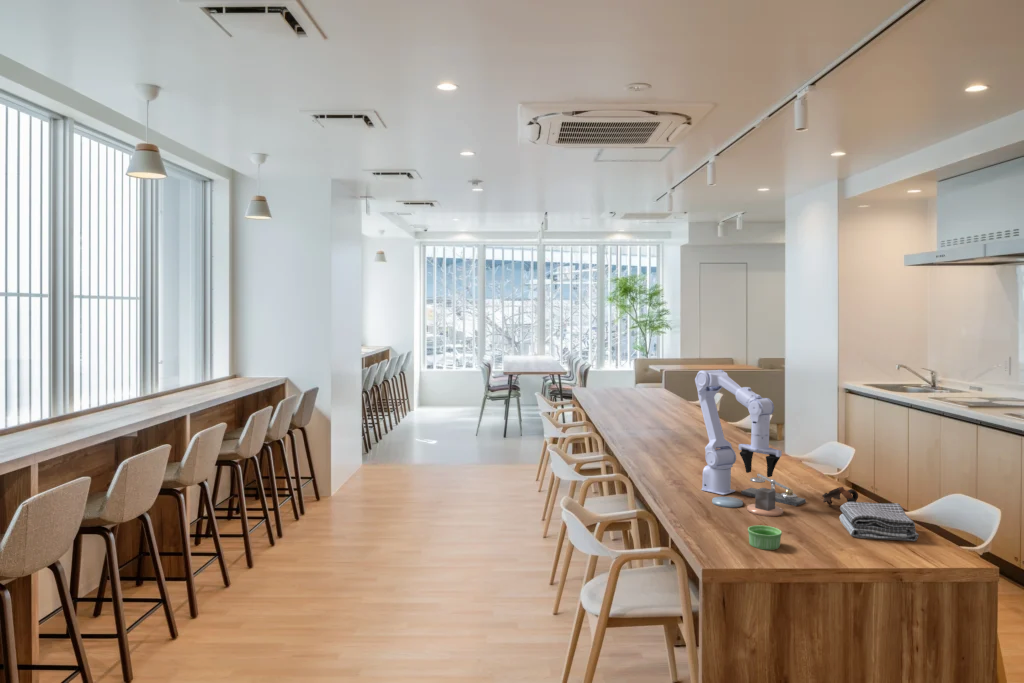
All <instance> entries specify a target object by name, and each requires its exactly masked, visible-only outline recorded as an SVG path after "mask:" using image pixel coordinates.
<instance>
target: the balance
mask: <svg viewBox="0 0 1024 683" xmlns="http://www.w3.org/2000/svg"><path fill="white" fill-rule="evenodd" d="M756 476H757V477H754V476H753V477H750V479H749V481H750V482H752V483H758V484H759V483H765V482H766V481H768V482H769V483H770V486H771V487H770V489H772V490H776V486H778V487H781V488H782V489H784V490H785V492H782V493H779V492H776V493H775V503H781V504H785V505H789V506H793V507H797V506H800V505H802V504H805V503H806V501H807V500H806V498H803V497H800V496H799V497H798V494H796V493H794V489H791V487H788V486H786V485H784V484H782V483H780V482H778V481H776V479H774V478H770V477H767V476H765V475H763V474H761V473H759V472H758V473H757V474H756ZM757 489H758V488H757V487H756V488H755V487H750V488H746V489H742V490H741V491H740V492H741V494H740V495H744V496H747V497H752V498H755V495H756V490H757Z"/></svg>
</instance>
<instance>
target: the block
mask: <svg viewBox="0 0 1024 683" xmlns="http://www.w3.org/2000/svg"><path fill="white" fill-rule="evenodd" d="M756 489H757V490H756V495H755V497H754V499H755V500H754V501H755V503H754V504H755V508H757V509H762V510H766V511H770V510H772V509H775V506H776V502H775V493H777V492H776V489H775V490H772V489H771V488H766V487H760V488H756Z"/></svg>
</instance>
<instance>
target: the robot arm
mask: <svg viewBox="0 0 1024 683" xmlns="http://www.w3.org/2000/svg"><path fill="white" fill-rule="evenodd" d="M694 382H695V386H696V389H697V397H698V400H699V405H700V409H701V413H702V416H703V422H704V425H705V428H706V432H707V437H708V443H707V444H706V445H705V447H704V451H705V462H706V464H707V465H705V466H704V467H703V469H702V486H701V487H702V488H700V489H701V491H704V492H708V493H713V494H718V495H721V496H726V495H729V494H731V493H734V492H736V489H732V488H731V482H732V481H731V479H732V475H731V474H732V468H733V466H734V464H735V463H736V461H737V454H736V451H735V450H734V448H733V447H732V443H731V442H730V441H728V440H726V437H725V435H724V432H723V431H724V430H723V427H722V423H721V419H720V415H719V411H718V408H717V404H716V399H715V397H716V395H717V394H718V393H719V392H720V391H721V389H724V390H727V391H728V392H729V393H731V394H732V395H734V396H735V400H736V401H737V402H738V403H740V404H741V405H742V406H744V407H745V408H747V409H748V410H747V411H748V412H749V415H750V418H749V419H750V421H751V427H750V428H751V432H750V433H751V435H750V444H747V443H740V444H739V443H738V451H740V452H739V455H740V457H741V459H742V461H743V464H744V468H745V473H747V474H748V473H752V464H753V462H752V461H753V456H754V453H756V454H762V455H766V456H765V461H766V477H767V478H771V477H773V474H774V471H775V467H776V465H777V463H778V461H779V460H780V458H781V457H782V456H783V455H782V454H783V451H782V450H780V449H776V448H773V447H770V427H771V426H770V425H771V424H770V423H771V421H770V420H771V415H773V413H774V411H775V405H774V402H773V401H772V400H771V399H770V398H769V397H762V396H761V395H760V394H757V393H756V392H754V391H753V390H752V388H751V387H750V386H742V387H741V385H739V384H738V382H736V381H735V380H733V379H732V378H731V377H730V376H729V374H728V373H727V371H724V370H723V369H717V370H716V369H713V370H704V369H703V370H699V371H698V372H697V374H696V376H695V378H694Z"/></svg>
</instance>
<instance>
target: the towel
mask: <svg viewBox="0 0 1024 683" xmlns="http://www.w3.org/2000/svg"><path fill="white" fill-rule="evenodd" d="M839 509H840V512H841V514H840V515H839V520H840V523H841V524H842V526H843V527H844V528H845V529H846V531H847V533H849V535H850V536H851V537H853V538H857V539H866V538H867V539H870V540H871V539H872V540H888V541H889V540H891V541H893V540H894V541H909V542H916V541H917V540H918V538H919V533H917V529H916V523H915V521H914V520H912V518H911V517H909V516H908V515H907V514H906V512H905V510H904V509H903V507H902V506H901V504H900V503H898V502H897V503H896V502H895V503H886V502H885V503H884V502H882V503H880V502H879V503H878V502H863V501H862V502H860V501H856V502H848V501H846V502H844V503H843V504H842V505H840V507H839Z"/></svg>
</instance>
